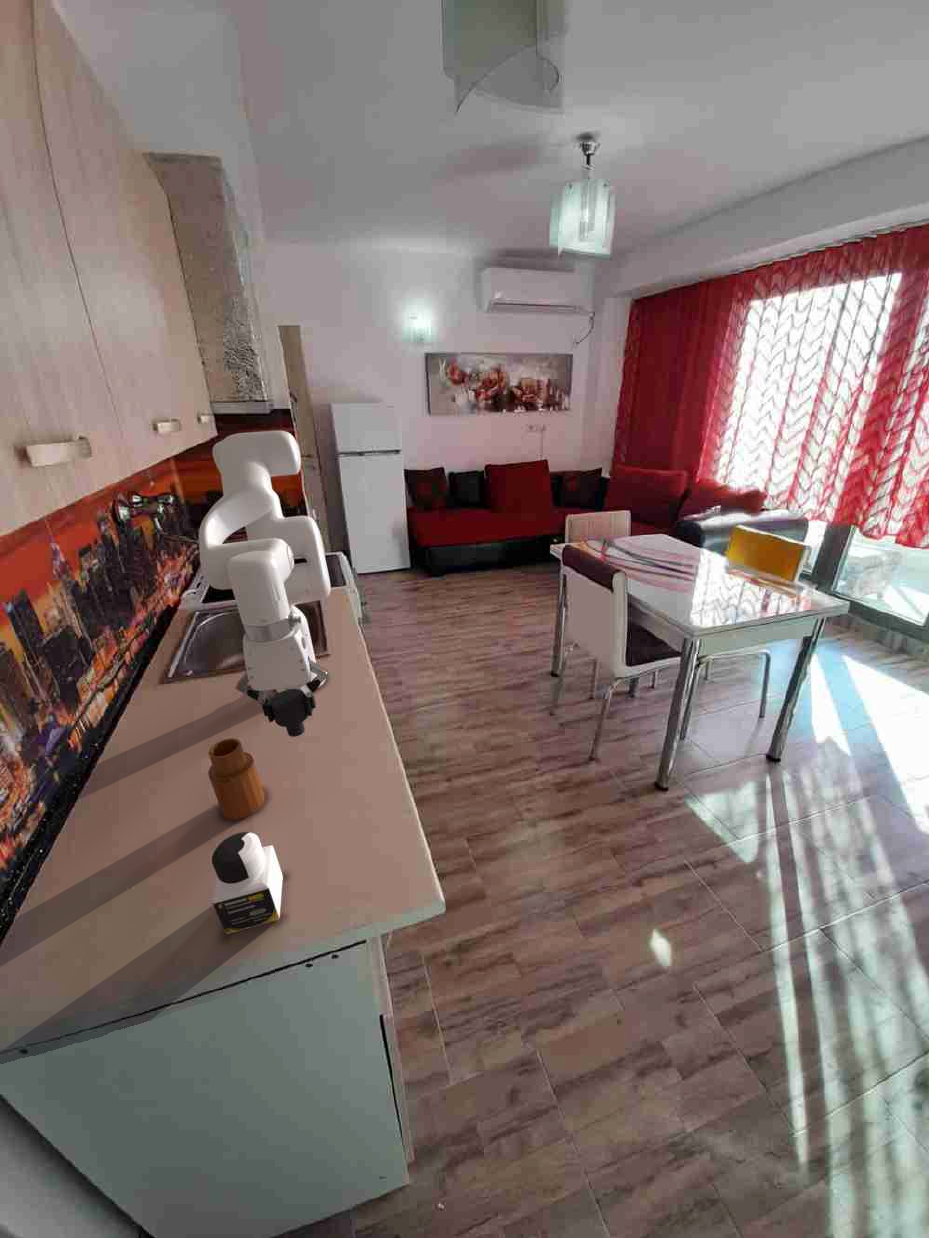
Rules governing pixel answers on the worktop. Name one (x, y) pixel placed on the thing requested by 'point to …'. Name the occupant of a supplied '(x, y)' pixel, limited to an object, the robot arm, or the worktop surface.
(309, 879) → the worktop surface
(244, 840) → the medicine bottle
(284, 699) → the stopper
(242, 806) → the amber bottle
